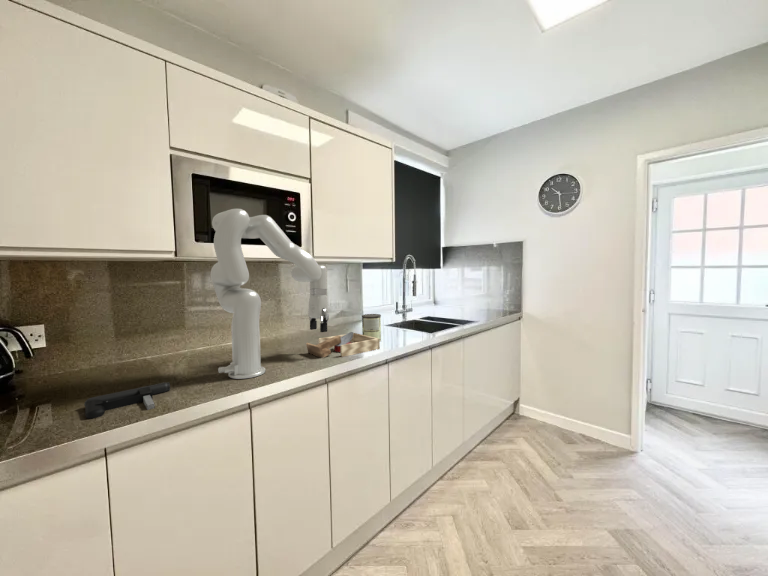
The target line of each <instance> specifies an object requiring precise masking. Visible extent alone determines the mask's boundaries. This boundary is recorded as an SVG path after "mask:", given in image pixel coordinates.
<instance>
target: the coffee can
mask: <svg viewBox="0 0 768 576" xmlns="http://www.w3.org/2000/svg"><path fill="white" fill-rule="evenodd" d="M381 317H382V315H381V314H379V313H365V314H362V315H361V323H362V324H361V329H362V331H361V332H362V334H361V335H366V336H370V337H374V338H379V339H380V342H381V341H382V326H381V325H382V324H381V321H382V319H381Z"/></svg>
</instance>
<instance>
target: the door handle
mask: <svg viewBox="0 0 768 576" xmlns="http://www.w3.org/2000/svg"><path fill="white" fill-rule="evenodd" d="M170 390H171V384H170V382H160V383H155V384H151V385H145V386H141V387H137V388H131V389H127V390H121V391H118V392H112V393H107V394H103V395H97V396H94V397H89V398H87V399H86V400H85V401H84V407H85V409H84V410H85V418H86V419H89V420H92V419H97V418H100V417H103V415H104V414H105V411H107V412H108V411H111V410H115V409H119V408H123V407H128V406H131V405H136V404H141V403H143V404H144V406H145V408H146V410H147V411H148V410H152V409H155V406H156V405H155V402H154V400H153V399H154V398H153V395H158V394H159V395H160V394H162V393H165V392H168V391H170Z"/></svg>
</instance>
